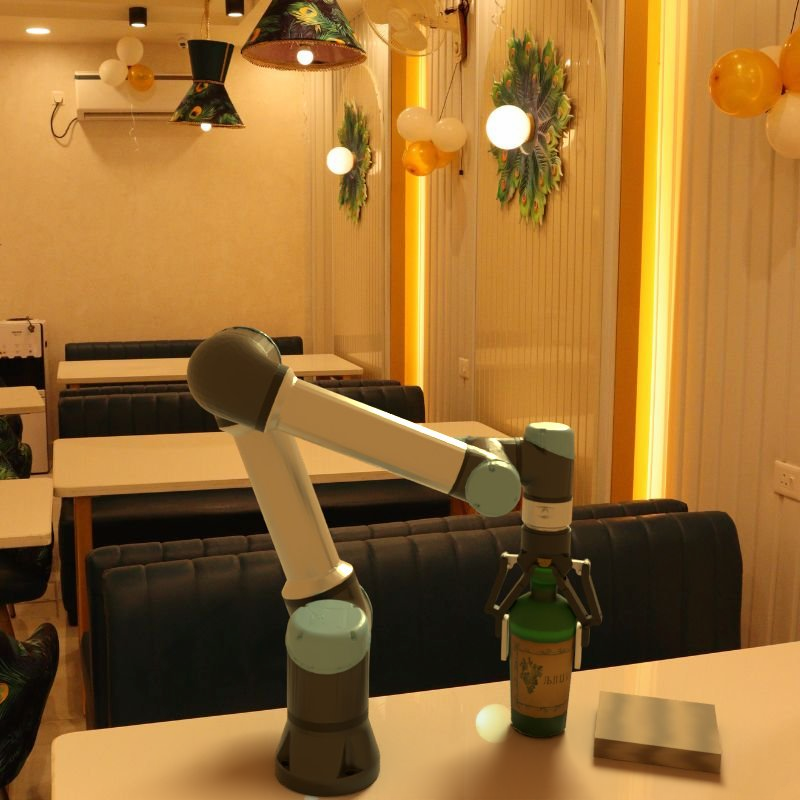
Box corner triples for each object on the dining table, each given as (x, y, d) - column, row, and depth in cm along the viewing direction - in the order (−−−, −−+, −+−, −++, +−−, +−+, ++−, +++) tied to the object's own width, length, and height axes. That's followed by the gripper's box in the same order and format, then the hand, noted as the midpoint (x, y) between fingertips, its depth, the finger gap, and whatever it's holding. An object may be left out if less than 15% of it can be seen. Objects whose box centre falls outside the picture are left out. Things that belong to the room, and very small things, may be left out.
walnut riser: (593, 756, 149) (594, 737, 149) (598, 707, 164) (599, 690, 164) (719, 773, 145) (721, 754, 144) (713, 722, 160) (714, 704, 160)
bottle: (519, 747, 151) (526, 569, 147) (494, 714, 162) (500, 547, 157) (583, 738, 154) (592, 564, 150) (555, 707, 164) (562, 543, 160)
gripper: (467, 524, 152) (463, 662, 155) (623, 538, 146) (615, 680, 150) (475, 511, 159) (471, 643, 162) (624, 524, 153) (617, 659, 157)
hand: (540, 661), depth 156 cm, fingers closed on bottle, 11 cm apart
